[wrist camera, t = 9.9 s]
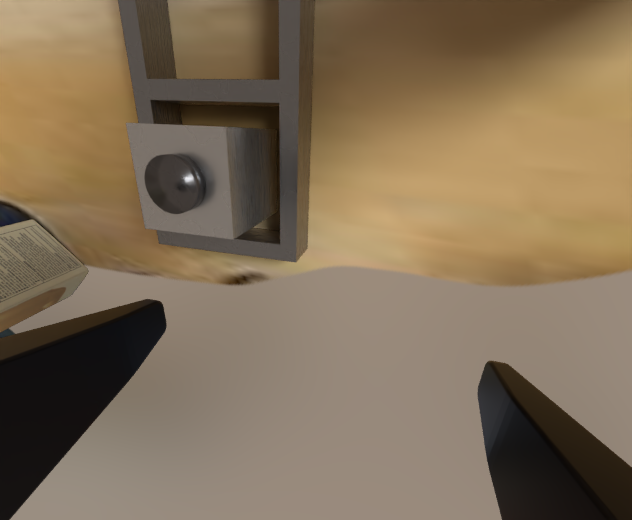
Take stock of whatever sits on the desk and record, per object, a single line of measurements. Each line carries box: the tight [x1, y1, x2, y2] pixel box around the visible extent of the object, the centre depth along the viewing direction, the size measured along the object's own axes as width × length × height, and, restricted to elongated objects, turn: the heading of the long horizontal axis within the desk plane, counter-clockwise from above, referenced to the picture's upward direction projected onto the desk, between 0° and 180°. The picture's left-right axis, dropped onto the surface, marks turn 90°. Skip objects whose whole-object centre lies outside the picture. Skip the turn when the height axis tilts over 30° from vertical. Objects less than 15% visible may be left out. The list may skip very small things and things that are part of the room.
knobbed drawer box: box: [126, 123, 277, 239], centre depth 17 cm, size 5×5×7 cm
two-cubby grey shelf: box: [118, 0, 315, 262], centre depth 17 cm, size 10×18×2 cm, turn 178°
